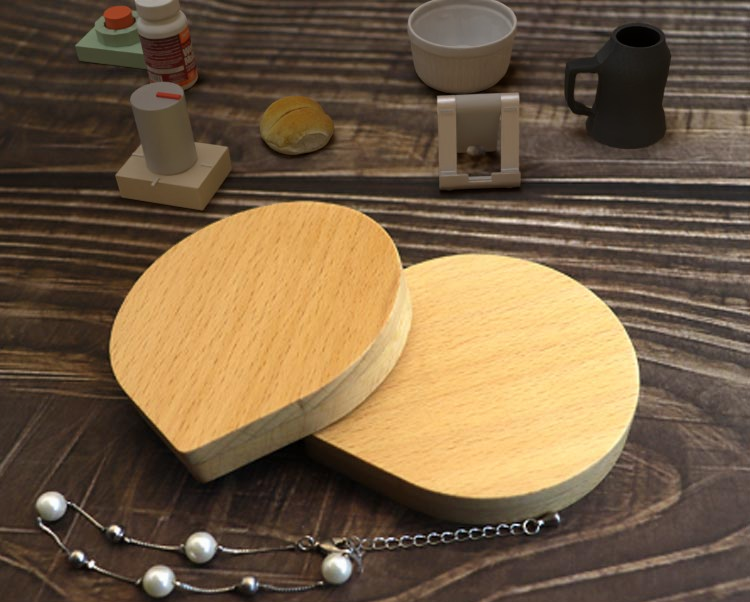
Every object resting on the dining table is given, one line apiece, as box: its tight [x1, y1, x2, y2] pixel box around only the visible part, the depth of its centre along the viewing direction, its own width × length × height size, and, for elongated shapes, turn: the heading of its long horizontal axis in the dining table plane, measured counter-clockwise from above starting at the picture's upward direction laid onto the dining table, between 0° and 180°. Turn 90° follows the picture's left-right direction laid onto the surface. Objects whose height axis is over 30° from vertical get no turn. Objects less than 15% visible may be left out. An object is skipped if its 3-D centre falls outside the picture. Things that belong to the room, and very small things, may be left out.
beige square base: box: [114, 141, 233, 211], centre depth 113 cm, size 10×10×3 cm
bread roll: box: [259, 95, 335, 156], centre depth 118 cm, size 8×9×4 cm
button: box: [103, 5, 134, 30], centre depth 132 cm, size 4×4×2 cm
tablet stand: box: [436, 91, 522, 191], centre depth 109 cm, size 9×8×8 cm
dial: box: [129, 82, 197, 175], centre depth 109 cm, size 6×6×8 cm
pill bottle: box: [134, 0, 199, 91], centre depth 125 cm, size 6×6×11 cm
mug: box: [563, 22, 672, 149], centre depth 113 cm, size 12×9×11 cm
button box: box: [74, 10, 147, 70], centre depth 134 cm, size 10×8×4 cm
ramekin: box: [407, 0, 518, 95], centre depth 124 cm, size 13×13×7 cm
